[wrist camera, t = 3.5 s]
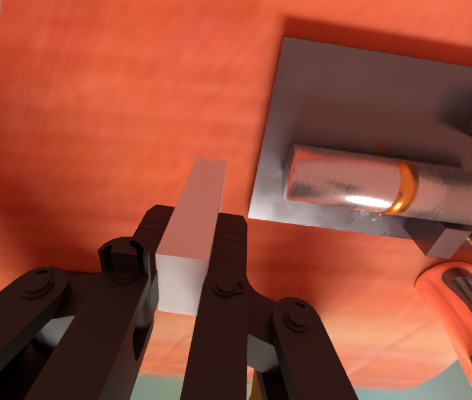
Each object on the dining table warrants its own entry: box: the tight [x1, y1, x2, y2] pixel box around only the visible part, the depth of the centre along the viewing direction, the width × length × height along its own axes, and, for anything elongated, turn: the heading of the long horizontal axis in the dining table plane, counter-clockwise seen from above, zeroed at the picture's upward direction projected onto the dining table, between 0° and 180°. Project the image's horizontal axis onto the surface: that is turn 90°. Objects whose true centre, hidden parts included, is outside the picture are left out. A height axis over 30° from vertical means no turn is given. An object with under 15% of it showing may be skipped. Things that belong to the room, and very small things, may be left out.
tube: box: [282, 144, 472, 225], centre depth 19 cm, size 14×4×4 cm, turn 82°
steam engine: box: [248, 36, 472, 259], centre depth 19 cm, size 27×14×6 cm, turn 82°
